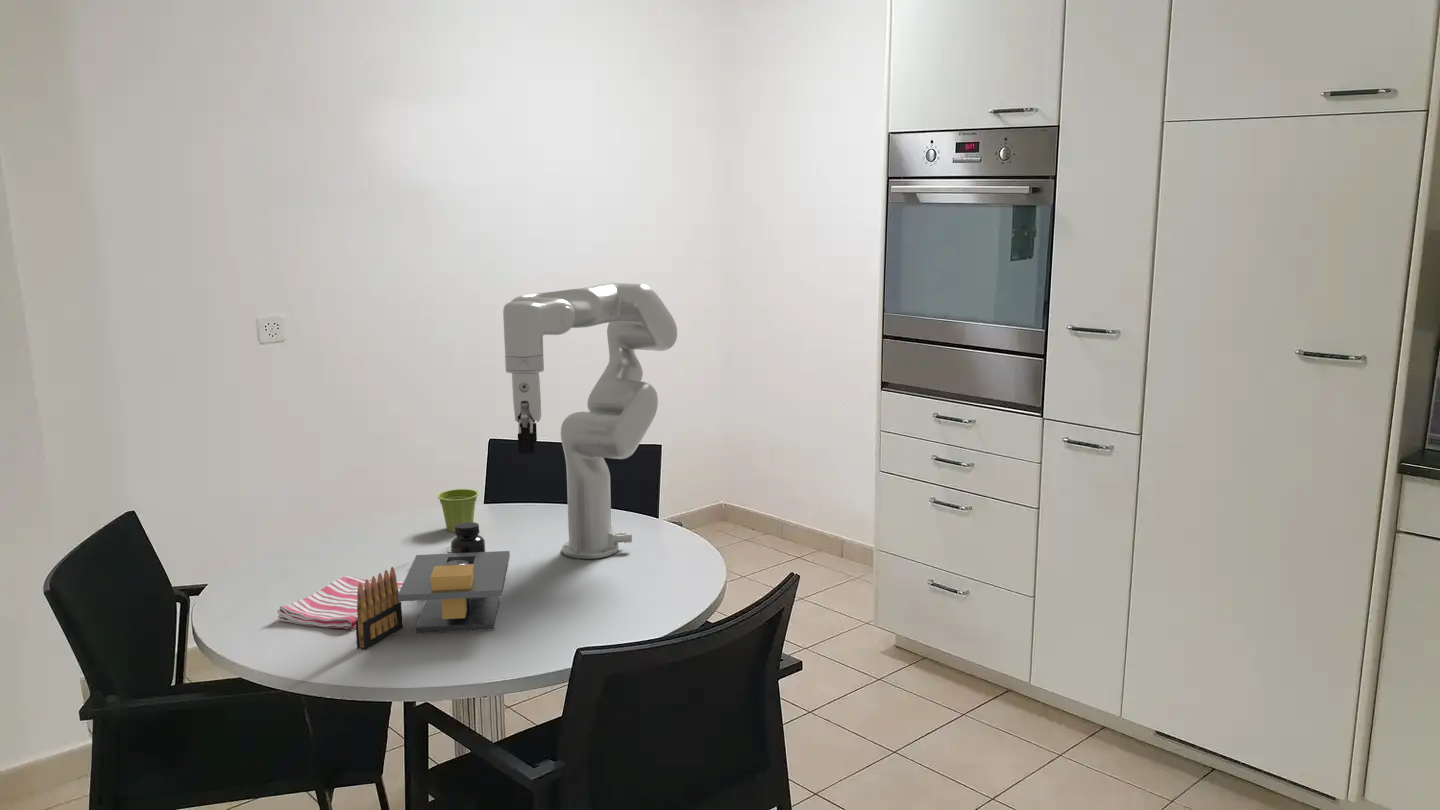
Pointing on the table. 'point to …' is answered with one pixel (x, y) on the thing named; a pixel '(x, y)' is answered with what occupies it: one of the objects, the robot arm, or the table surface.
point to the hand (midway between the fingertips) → (527, 447)
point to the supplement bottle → (467, 539)
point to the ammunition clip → (378, 610)
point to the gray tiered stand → (457, 591)
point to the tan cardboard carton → (453, 587)
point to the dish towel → (328, 605)
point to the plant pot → (458, 506)
